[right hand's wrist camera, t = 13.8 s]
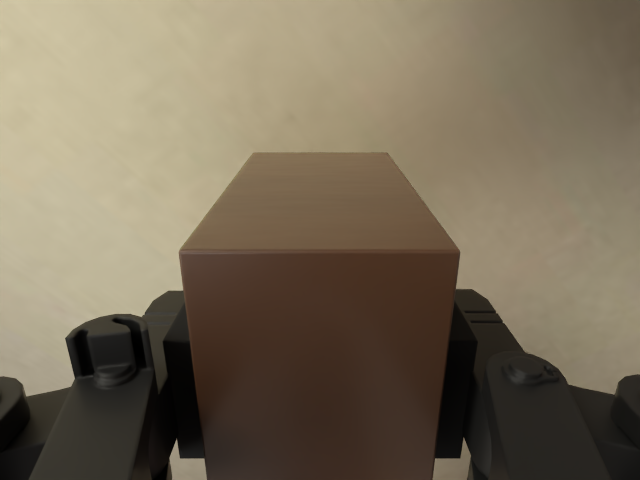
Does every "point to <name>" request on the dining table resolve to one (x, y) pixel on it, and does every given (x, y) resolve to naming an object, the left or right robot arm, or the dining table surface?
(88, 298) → the dining table surface
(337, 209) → the walnut beam
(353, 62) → the dining table surface
